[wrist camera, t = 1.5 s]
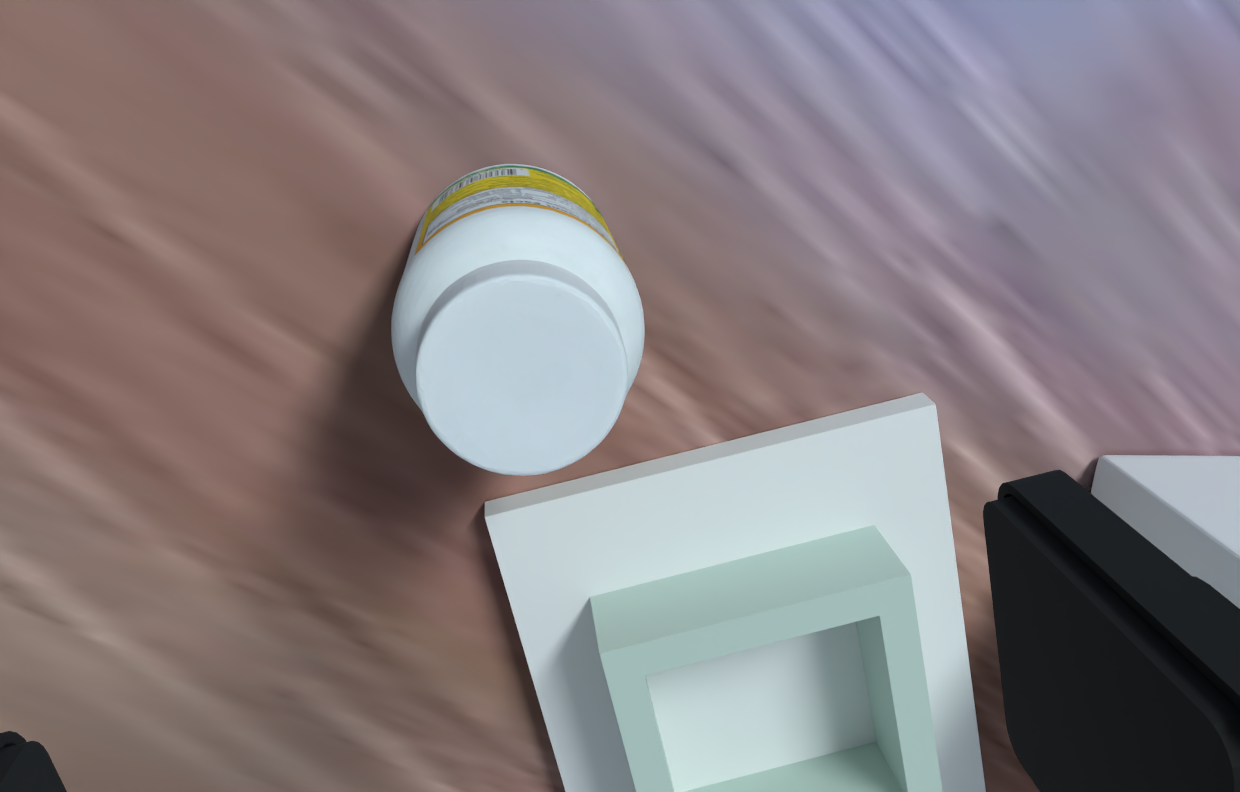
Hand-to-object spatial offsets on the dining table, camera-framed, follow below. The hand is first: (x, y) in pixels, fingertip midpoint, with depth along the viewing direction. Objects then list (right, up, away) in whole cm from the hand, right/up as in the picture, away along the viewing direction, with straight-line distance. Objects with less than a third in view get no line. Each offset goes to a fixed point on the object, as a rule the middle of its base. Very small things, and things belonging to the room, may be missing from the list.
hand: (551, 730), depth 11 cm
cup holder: (+5, -5, +24) cm, 25 cm away
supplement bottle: (-2, +7, +19) cm, 20 cm away
